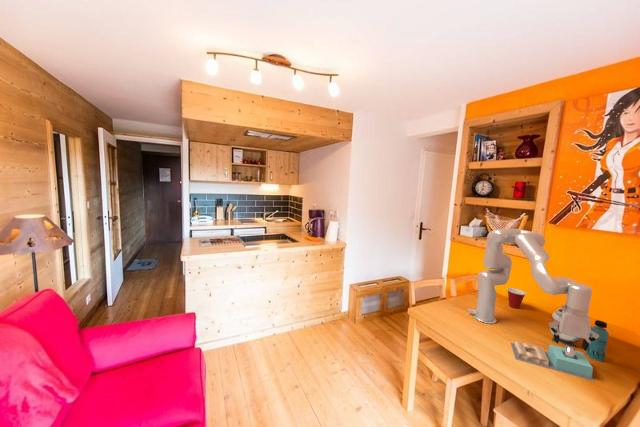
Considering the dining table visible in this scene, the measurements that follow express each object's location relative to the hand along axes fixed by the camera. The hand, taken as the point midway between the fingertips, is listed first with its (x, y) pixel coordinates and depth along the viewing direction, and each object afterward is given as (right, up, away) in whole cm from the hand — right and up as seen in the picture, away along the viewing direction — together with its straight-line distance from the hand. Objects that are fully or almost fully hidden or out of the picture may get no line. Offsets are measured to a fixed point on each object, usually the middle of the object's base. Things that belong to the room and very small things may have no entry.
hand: (569, 345), depth 121 cm
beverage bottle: (+19, -11, +7) cm, 23 cm away
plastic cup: (+21, -5, +62) cm, 65 cm away
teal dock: (0, -10, +1) cm, 10 cm away
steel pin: (0, -10, +1) cm, 10 cm away
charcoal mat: (-6, -11, +4) cm, 13 cm away
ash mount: (-12, -8, +7) cm, 17 cm away
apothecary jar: (+16, -9, +20) cm, 28 cm away
